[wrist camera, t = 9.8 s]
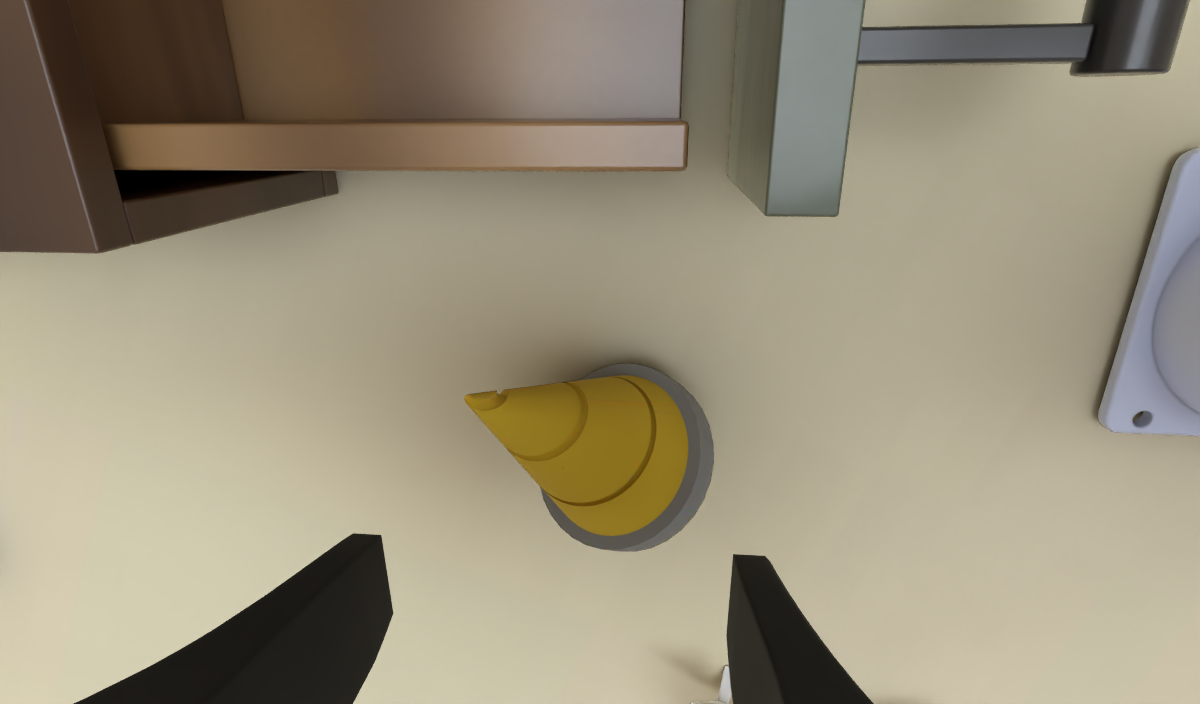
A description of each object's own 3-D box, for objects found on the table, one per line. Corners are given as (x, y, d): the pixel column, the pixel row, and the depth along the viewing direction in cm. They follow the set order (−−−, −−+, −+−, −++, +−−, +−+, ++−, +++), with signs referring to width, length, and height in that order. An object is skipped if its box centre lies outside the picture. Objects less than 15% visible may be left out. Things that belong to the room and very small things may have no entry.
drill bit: (576, 508, 23) (342, 459, 15) (641, 374, 23) (448, 255, 15) (701, 589, 19) (489, 584, 11) (775, 432, 20) (619, 320, 12)
